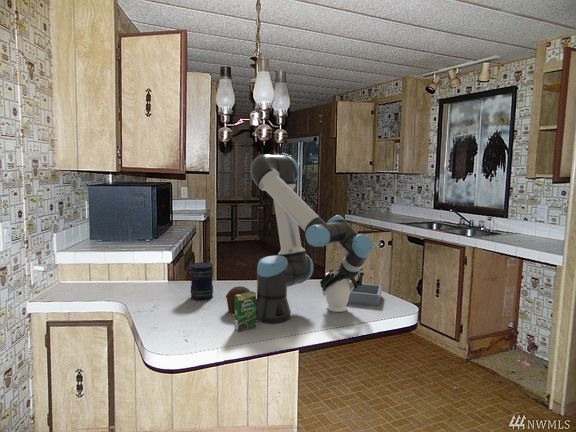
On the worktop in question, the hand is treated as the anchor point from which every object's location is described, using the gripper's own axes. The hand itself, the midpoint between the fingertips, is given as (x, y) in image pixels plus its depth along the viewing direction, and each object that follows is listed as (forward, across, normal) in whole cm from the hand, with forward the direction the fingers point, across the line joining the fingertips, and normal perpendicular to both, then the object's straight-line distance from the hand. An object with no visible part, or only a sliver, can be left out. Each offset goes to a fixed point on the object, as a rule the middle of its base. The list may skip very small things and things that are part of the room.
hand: (335, 292), depth 174 cm
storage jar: (+21, -55, +11) cm, 60 cm away
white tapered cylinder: (+3, 0, -6) cm, 7 cm away
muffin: (+6, -40, -4) cm, 41 cm away
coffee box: (-7, -41, -16) cm, 44 cm away
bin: (+11, +16, +2) cm, 20 cm away
